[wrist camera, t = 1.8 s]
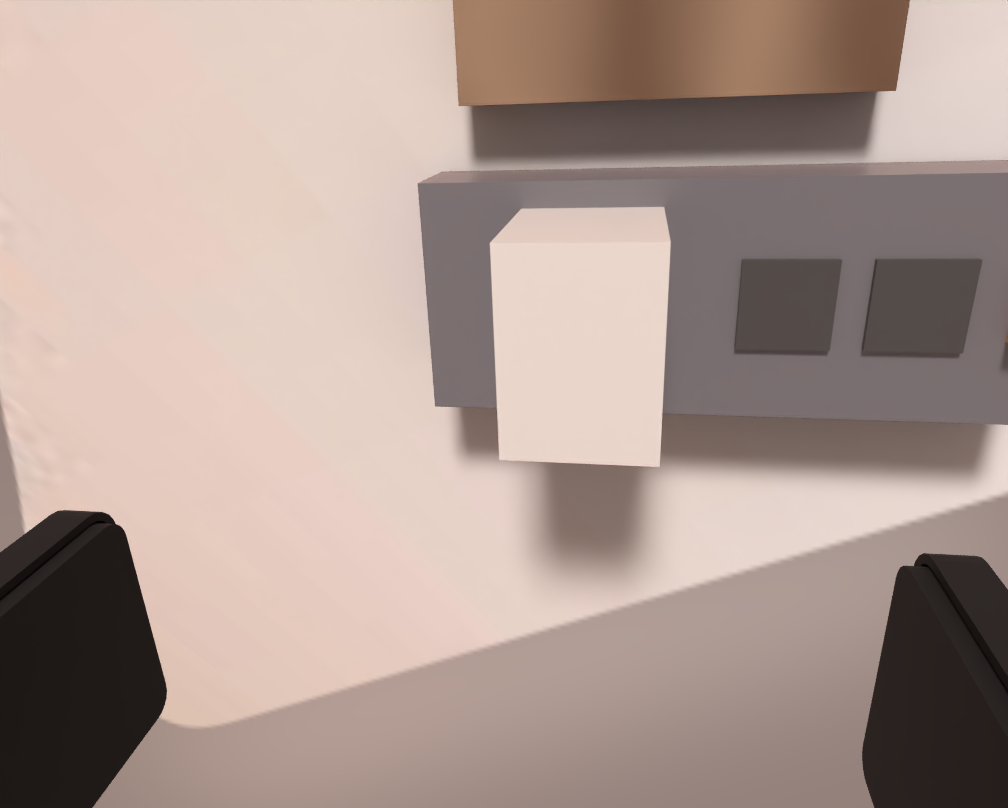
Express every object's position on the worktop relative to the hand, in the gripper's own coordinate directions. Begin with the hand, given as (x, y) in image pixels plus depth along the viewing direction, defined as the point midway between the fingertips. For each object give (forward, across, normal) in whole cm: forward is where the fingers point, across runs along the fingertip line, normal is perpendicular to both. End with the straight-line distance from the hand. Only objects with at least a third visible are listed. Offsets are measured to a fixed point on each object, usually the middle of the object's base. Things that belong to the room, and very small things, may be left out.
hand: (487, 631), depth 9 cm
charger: (+16, -1, 0) cm, 16 cm away
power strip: (+18, -5, 0) cm, 18 cm away
